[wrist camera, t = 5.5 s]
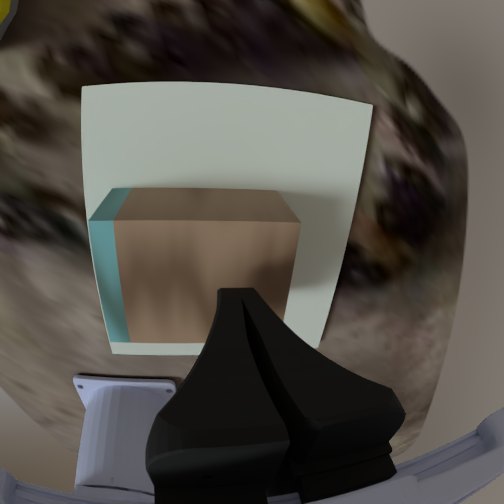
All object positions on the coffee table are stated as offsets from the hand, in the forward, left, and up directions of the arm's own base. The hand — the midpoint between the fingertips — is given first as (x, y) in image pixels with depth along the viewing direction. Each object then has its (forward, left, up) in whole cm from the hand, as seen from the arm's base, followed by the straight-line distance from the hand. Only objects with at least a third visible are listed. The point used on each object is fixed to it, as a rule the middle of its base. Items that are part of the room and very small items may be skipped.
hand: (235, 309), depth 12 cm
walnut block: (0, -3, -3) cm, 4 cm away
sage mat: (0, 0, -6) cm, 6 cm away
